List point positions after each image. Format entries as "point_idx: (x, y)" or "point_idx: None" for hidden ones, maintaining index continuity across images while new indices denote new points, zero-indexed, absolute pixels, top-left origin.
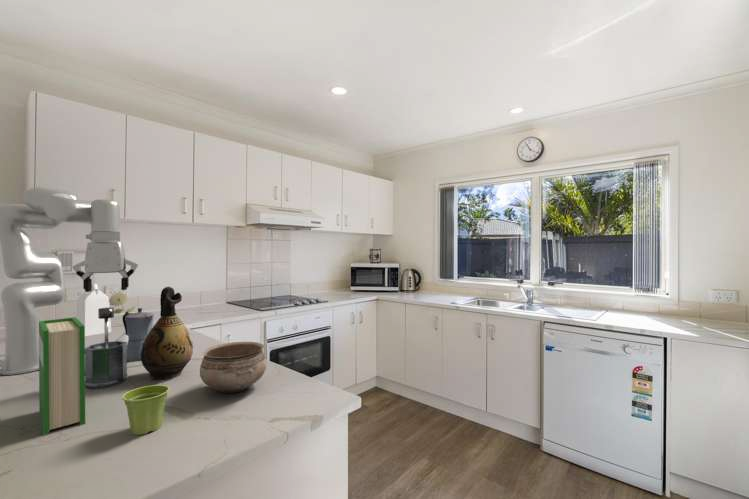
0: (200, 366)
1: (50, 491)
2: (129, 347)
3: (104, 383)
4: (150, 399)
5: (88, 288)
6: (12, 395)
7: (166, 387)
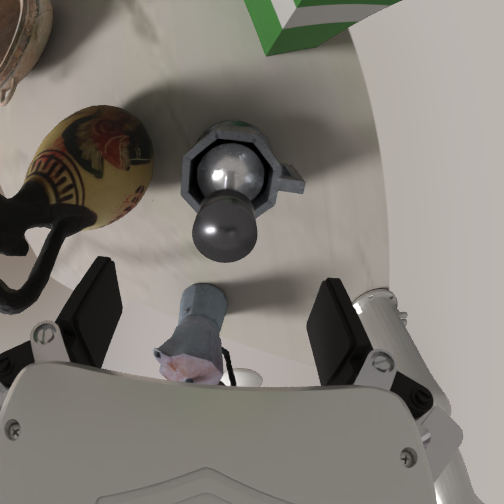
0: (40, 22)
1: None
2: (215, 309)
3: (229, 121)
4: None
5: (326, 298)
6: (376, 171)
7: None
